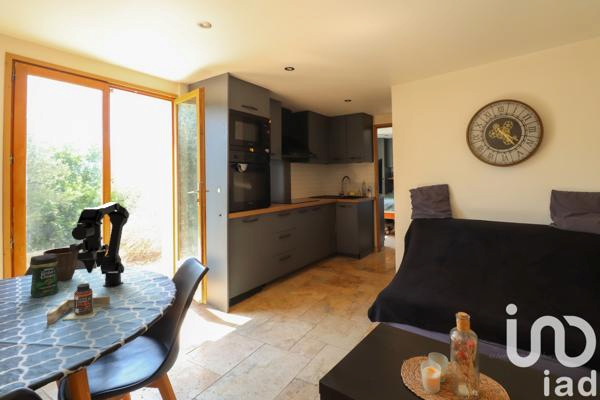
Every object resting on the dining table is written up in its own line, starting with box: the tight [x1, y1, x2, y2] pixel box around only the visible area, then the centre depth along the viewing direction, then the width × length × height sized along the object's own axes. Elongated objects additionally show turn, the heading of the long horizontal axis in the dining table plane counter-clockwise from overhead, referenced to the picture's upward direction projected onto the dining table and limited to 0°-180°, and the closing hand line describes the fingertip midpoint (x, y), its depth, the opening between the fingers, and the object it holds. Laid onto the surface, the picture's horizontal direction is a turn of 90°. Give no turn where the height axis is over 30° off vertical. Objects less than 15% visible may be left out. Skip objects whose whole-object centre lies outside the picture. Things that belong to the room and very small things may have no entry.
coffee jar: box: [29, 254, 59, 298], centre depth 134 cm, size 10×8×19 cm
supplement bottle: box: [73, 282, 94, 315], centre depth 116 cm, size 6×6×11 cm
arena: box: [46, 295, 111, 325], centre depth 116 cm, size 14×16×4 cm
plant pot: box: [42, 246, 80, 283], centre depth 153 cm, size 15×15×16 cm
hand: (94, 269), depth 130 cm, fingers open, 9 cm apart
